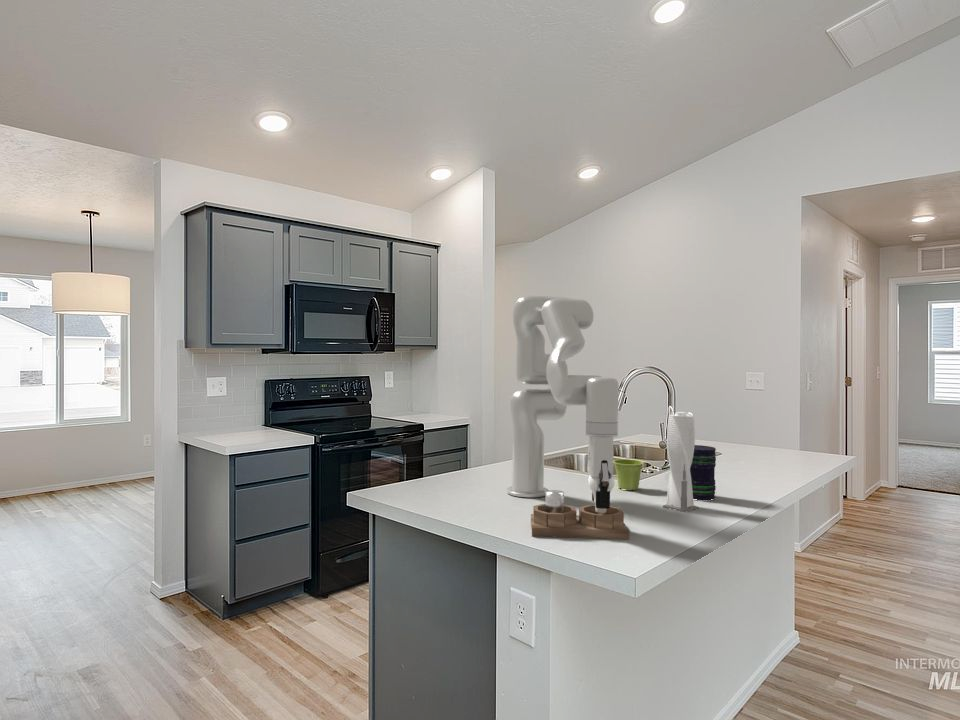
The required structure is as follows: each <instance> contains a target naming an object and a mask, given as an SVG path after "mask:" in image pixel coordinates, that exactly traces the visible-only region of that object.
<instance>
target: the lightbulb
mask: <svg viewBox="0 0 960 720" xmlns="http://www.w3.org/2000/svg"><path fill="white" fill-rule="evenodd" d="M609 475H611V474H610V473H609ZM599 477H602V475H599ZM609 478H610V477H609ZM587 482H588V487H589V488H590V490H591V494H592V493H593V495H594V501H593V502H594V505H595V510H596V512H597V513H598V514H604V513H606V509H601V508H596V491H597V477H595V478H594V479H593V478H592V477H591V476H590V475H589V476H588V480H587ZM600 483H601V481H600ZM609 483H610V493H612V490H614V486H615V478H614V476H613V477H612V478H611V479H609Z"/></svg>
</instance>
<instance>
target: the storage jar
mask: <svg viewBox="0 0 960 720" xmlns="http://www.w3.org/2000/svg"><path fill="white" fill-rule="evenodd" d="M716 450H717V449H716V447H714V446H709V445H700V444H699V445H698V444H697V445H696V444H695V445H694V453H693V459H692V463H691V467H690V474H691V481H692V491H693V499H697V500H696V501H698V500H711V499H714V498H715V499H716V496H715V494H716V489H717V487H716V480H715V479H716V478H715V475H716V474H715V473H716V472H715V470H716V469H715V467H716V464H717V463H716V461H717V456H716ZM715 499H714V500H715ZM711 501H712V500H711Z"/></svg>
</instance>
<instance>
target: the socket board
mask: <svg viewBox="0 0 960 720" xmlns="http://www.w3.org/2000/svg"><path fill="white" fill-rule="evenodd" d="M532 512H533V513H530V529H531V530H532V531H531V537H536V536H553V537H552V538H570V537H588V538H587V539H604V538H607V539H608V540H610V539H611V540H630V530H629V528H628V527H627V525H626V524H625V522H624V519H625V514H624V513H625V512H624V511H623V509H622V508H621V507H616V506H612V505H610V508H609V509H606V513H604V514H598V513H597V512H596V510H595V504H587V505H583V506H579V507H578V513H577V509H576V507H575V506H572V505H567V504H564V513H547V512H545V503H540V504H537V505H534V506H533V511H532ZM577 514H578V515H577ZM554 536H556V537H554Z"/></svg>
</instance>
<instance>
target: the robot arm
mask: <svg viewBox="0 0 960 720" xmlns="http://www.w3.org/2000/svg"><path fill="white" fill-rule="evenodd" d="M512 321H513V327H514V331H515V336H516V351H515V352H516V354H515V356H516V357H515V362H516V363H515V375H516V379H517V381H518V382H519V383H521V384H523V385H528V386H529V385H530V386H533V385H535V386H536V385H537V386H538V385H539V386H540V385H541V386H543V385H544V386H546V385H547V389H545V388H543V389H542V388H541V389H540V388H538V389H537V388H526V389H520V390H517V391H515V392H514V393H513V394H512V395H510V396H511V397H510V399H509V400H510V401H509V408H510V414H511V421H512V472H511V473H512V475H511V476H512V477H511V478H512V480H511V481H512V482H511V483H512V484H511V486H509V487H507V489H506V490H507V491H506V492H507V494H508V495H510V496H513V497H517V498H519V497H520V498H541V497H546V491H548V490H549V489H548V488H547V487H545V485H544V484H545V482H544V481H545V477H544V476H545V475H544V474H545V435H544V431H543V430H542V428H541V426H540V425H539V424H538V422H539V421H553V420H554V421H555V420H556V421H557V420H562V419H563V418H564V417H565V414H566V412H567V408H568V407H567V406H569V407H570V406H585V435H586V436H588V448H587V449H588V451H587V468H586V469H587V473H588V474H589V476H591V477H592V478H593V479H594V478H595V477H597V491H596V508H601V509H609V508H610V506H611V502H610V501H611V492H610V483H609V479H611V478H612V477H614V476H613V475H614V463H613V461H614V446H615V445H614V438H615V437H618V435H619V433H618V432H619V392H620V390H619V381H618V380H617V378H615V377H607V376H605V377H604V376H599V375H584V374H583V375H582V374H577V375H576V374H570V375H569V369H568V363H567V361H566V360H568V359H570V358H572V357H574V356H576V355H577V354H579V353H580V352H581V351H582V350H583V349H584V347H585V343H586V342H585V341H586V340H585V338H584V336H583V333H582V330H587V329H589V328H590V327H591V326H592V324H593V322H594V310H593V307H592V306H591V304H590V303H589V302H588V301H587V300H585V299H579V298H570V297H563V296H562V297H561V296H545V295H525V296H522V297H519V298H518V299H517V300H516V301H515V303H514V306H513V310H512ZM540 325H541V326H544V327H545V329H546V332H547V335H548V338H549V341H550V344H551V346H552V348H553V350H552V351H551V353H546V352H545V350H546V348H545V343H546V339H545V336H544V334H543V332H542V330H541V329H540V328H539V326H540ZM609 473H610V474H611V475H609ZM599 475H602V477H599ZM609 477H610V478H609ZM600 481H601V483H600ZM591 500H592V502H594V495H593V493H592V492H591Z"/></svg>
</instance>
